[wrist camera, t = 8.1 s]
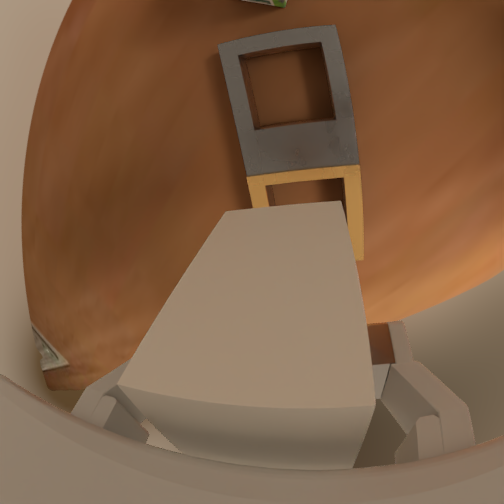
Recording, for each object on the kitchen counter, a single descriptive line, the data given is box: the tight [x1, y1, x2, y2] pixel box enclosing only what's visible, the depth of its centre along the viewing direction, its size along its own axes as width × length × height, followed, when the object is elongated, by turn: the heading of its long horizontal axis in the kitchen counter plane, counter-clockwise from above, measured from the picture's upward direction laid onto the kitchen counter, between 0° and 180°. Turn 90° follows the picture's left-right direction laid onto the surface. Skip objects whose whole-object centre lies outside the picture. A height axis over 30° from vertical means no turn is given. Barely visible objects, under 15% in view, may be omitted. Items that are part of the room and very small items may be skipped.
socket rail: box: [218, 25, 364, 261], centre depth 24 cm, size 10×22×3 cm, turn 12°
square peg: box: [117, 201, 375, 470], centre depth 9 cm, size 5×5×9 cm
